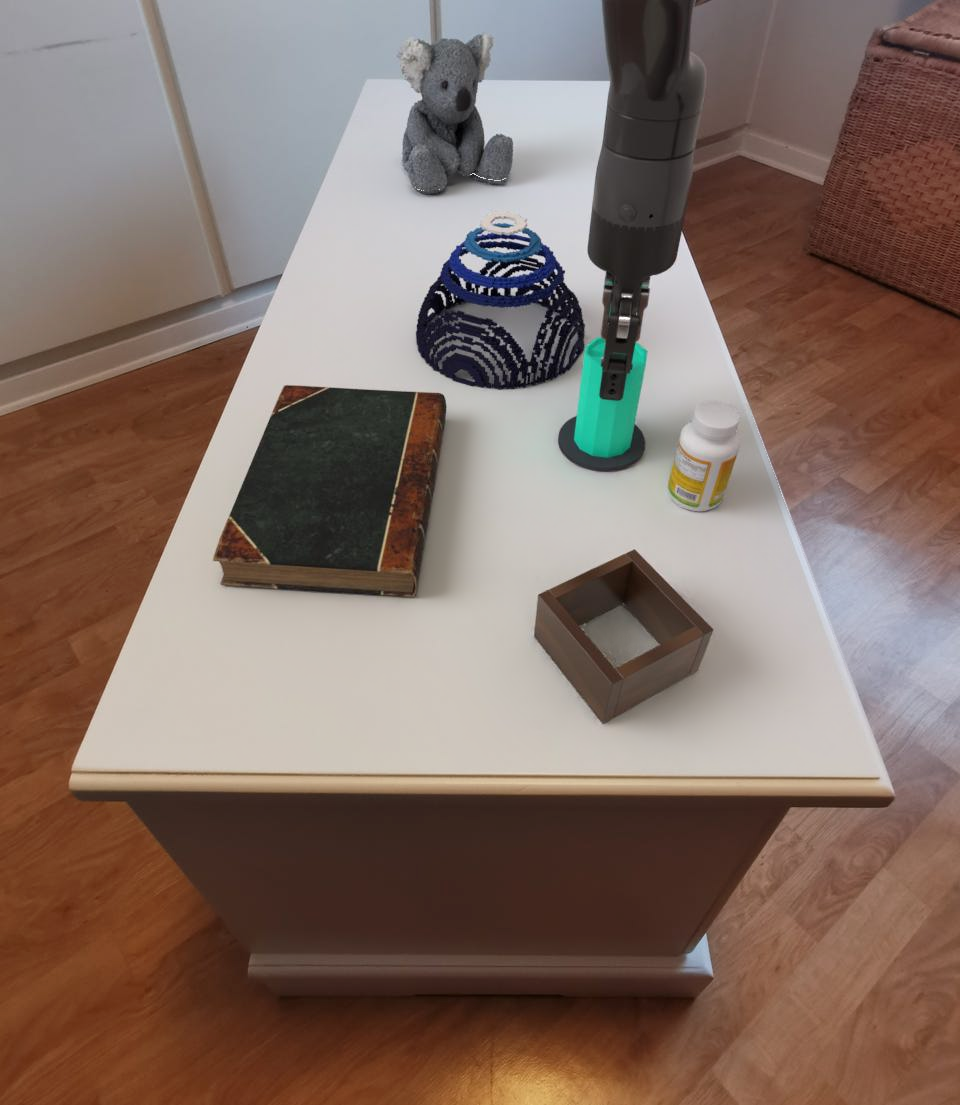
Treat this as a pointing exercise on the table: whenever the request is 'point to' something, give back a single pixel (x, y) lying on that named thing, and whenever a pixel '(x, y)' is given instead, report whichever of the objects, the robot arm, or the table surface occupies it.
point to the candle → (607, 405)
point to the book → (337, 493)
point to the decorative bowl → (495, 299)
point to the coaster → (595, 462)
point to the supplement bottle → (705, 457)
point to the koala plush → (449, 114)
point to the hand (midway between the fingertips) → (612, 377)
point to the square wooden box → (653, 608)
